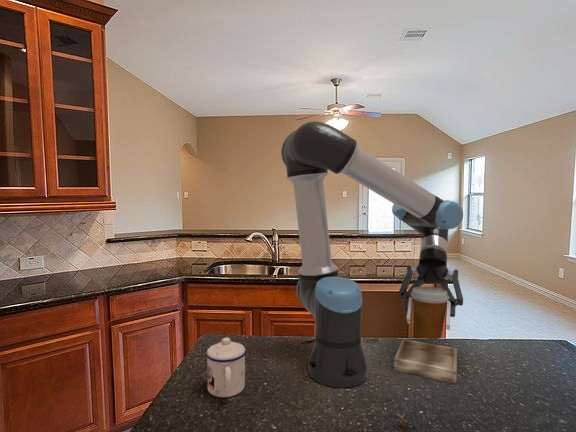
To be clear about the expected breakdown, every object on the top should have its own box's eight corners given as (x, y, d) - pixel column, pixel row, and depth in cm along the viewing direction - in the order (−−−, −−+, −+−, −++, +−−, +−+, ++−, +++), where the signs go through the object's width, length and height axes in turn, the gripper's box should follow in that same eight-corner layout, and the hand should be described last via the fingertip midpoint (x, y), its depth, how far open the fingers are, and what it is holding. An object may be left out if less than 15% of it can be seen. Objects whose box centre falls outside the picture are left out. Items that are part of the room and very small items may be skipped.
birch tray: (393, 370, 89) (393, 358, 88) (402, 348, 102) (402, 338, 101) (456, 384, 82) (456, 371, 82) (456, 359, 95) (457, 348, 95)
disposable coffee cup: (452, 343, 86) (453, 296, 85) (412, 340, 88) (413, 294, 87) (443, 329, 95) (444, 287, 95) (407, 326, 97) (408, 285, 97)
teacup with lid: (206, 380, 83) (206, 333, 83) (243, 375, 86) (243, 330, 85) (206, 409, 72) (206, 354, 71) (249, 403, 74) (249, 350, 73)
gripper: (473, 264, 100) (474, 337, 86) (397, 259, 109) (387, 324, 96) (474, 248, 95) (475, 324, 81) (394, 244, 104) (383, 311, 91)
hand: (427, 324), depth 89 cm, fingers closed on disposable coffee cup, 9 cm apart
